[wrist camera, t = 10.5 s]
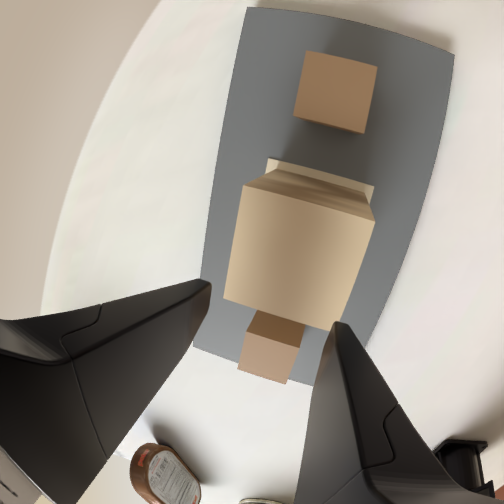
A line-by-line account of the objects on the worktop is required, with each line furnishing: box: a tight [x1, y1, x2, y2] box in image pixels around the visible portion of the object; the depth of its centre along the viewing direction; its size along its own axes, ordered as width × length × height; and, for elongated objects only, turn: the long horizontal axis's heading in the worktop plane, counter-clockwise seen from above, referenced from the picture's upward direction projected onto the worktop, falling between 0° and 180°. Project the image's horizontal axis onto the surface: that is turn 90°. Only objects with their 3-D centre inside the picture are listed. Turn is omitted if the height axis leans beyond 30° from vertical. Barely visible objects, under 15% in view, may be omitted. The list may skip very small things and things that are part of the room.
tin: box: [130, 443, 201, 504], centre depth 32 cm, size 15×3×8 cm, turn 18°
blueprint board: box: [193, 7, 455, 386], centre depth 16 cm, size 12×24×5 cm, turn 170°
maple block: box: [223, 169, 375, 331], centre depth 15 cm, size 5×5×6 cm
